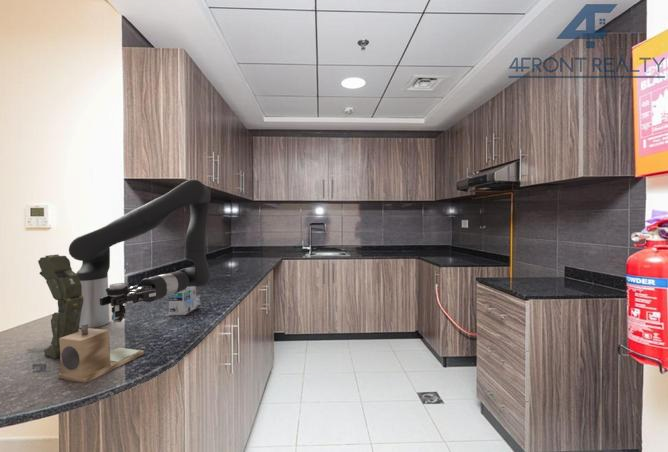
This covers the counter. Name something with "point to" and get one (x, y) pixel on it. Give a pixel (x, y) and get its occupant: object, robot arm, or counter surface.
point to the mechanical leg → (62, 298)
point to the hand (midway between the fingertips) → (106, 302)
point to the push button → (119, 310)
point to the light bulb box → (182, 301)
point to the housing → (90, 355)
